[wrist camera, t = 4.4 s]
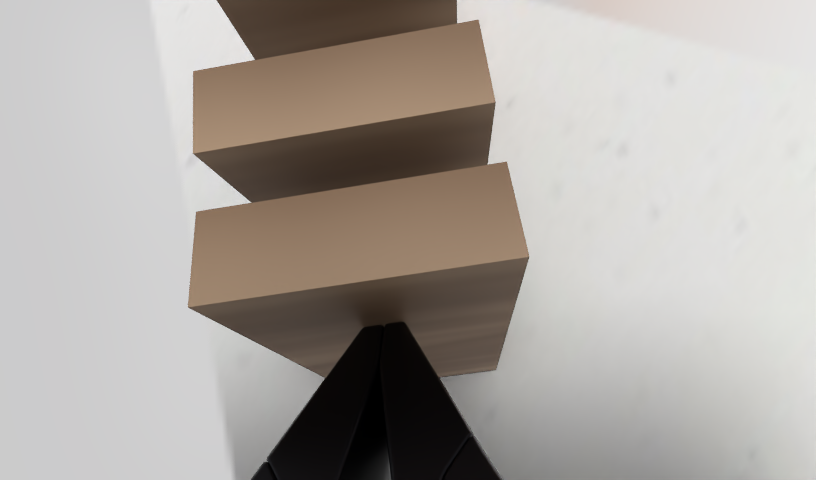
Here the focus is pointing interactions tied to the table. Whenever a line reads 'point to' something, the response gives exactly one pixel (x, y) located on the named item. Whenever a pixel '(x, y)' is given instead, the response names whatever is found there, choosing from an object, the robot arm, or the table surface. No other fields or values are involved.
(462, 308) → the domino
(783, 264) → the table surface
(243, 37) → the domino
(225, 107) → the domino
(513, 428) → the table surface
